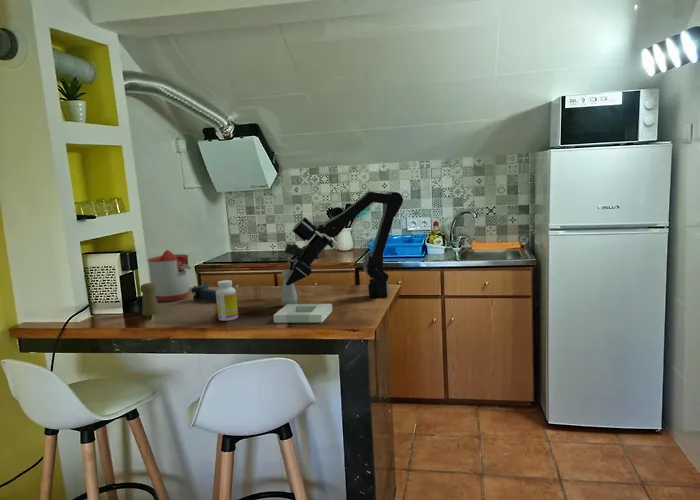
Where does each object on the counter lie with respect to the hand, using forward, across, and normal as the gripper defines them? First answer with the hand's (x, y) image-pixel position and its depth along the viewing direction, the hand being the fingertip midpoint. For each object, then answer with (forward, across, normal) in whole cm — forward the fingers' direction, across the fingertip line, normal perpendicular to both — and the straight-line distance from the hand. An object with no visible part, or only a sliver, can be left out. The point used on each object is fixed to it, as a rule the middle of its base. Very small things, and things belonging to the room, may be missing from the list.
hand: (285, 282), depth 197 cm
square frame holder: (+3, +18, +9) cm, 20 cm away
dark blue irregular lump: (+26, -21, -14) cm, 36 cm away
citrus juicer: (+37, -33, -24) cm, 55 cm away
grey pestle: (+6, 0, +7) cm, 9 cm away
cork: (+41, -11, -28) cm, 51 cm away
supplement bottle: (+21, +9, -8) cm, 24 cm away
